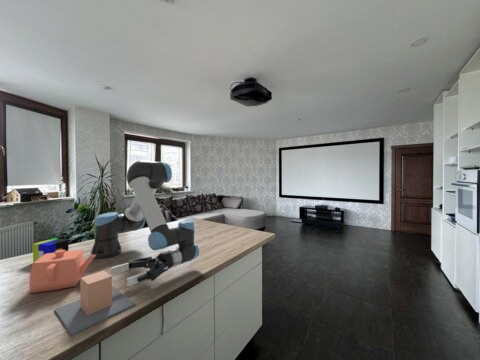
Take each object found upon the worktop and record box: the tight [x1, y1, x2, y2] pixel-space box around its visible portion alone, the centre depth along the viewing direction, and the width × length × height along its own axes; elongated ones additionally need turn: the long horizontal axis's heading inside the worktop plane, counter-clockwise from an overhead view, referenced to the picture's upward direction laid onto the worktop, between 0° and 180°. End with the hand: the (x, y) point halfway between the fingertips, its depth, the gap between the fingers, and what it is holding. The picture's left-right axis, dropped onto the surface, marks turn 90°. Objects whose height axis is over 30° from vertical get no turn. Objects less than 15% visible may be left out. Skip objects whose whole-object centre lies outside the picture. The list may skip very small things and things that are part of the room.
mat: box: [54, 286, 136, 336], centre depth 71 cm, size 18×18×1 cm
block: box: [79, 270, 113, 315], centre depth 71 cm, size 7×7×10 cm
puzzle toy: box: [32, 238, 69, 264], centre depth 111 cm, size 10×10×10 cm
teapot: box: [28, 249, 96, 294], centre depth 88 cm, size 20×22×14 cm
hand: (118, 276), depth 77 cm, fingers open, 13 cm apart
